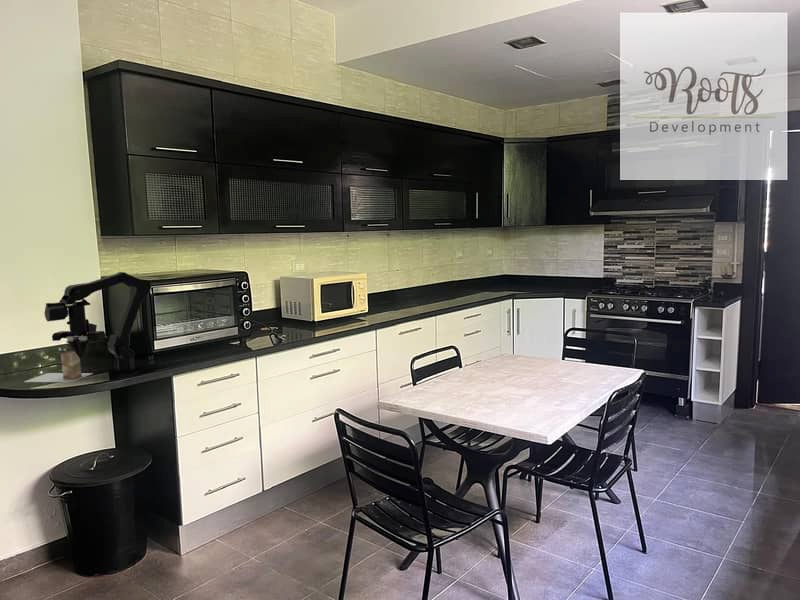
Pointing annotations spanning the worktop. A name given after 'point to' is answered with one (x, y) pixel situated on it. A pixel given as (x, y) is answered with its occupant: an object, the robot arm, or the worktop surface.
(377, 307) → the worktop surface
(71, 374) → the maple block
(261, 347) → the worktop surface
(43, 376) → the board
